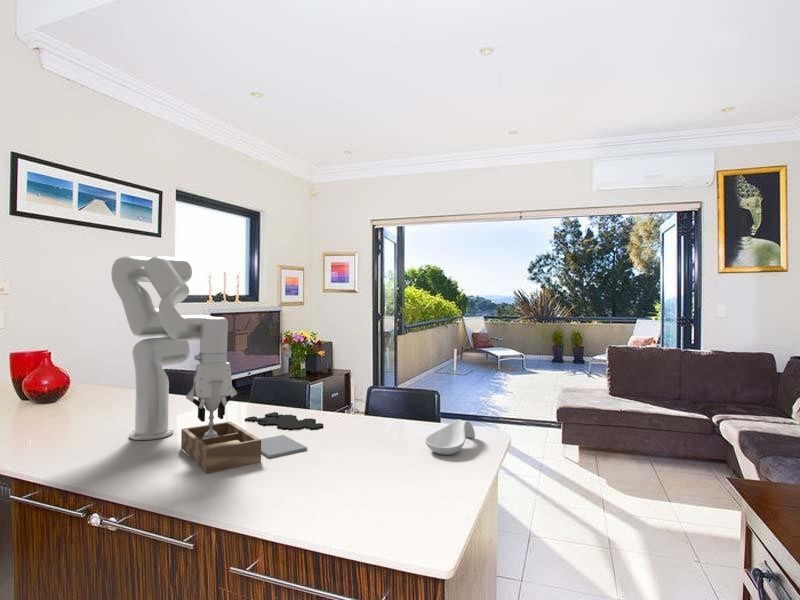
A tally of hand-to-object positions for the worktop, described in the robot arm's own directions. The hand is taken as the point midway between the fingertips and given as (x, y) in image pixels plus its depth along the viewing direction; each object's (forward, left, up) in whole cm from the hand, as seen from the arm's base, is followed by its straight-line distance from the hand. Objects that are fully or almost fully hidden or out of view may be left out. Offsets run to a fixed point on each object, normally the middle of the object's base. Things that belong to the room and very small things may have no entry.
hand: (211, 418), depth 136 cm
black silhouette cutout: (-14, +31, -10) cm, 35 cm away
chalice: (0, 0, -7) cm, 7 cm away
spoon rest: (+42, +60, -9) cm, 74 cm away
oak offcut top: (+12, 0, -7) cm, 14 cm away
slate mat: (+10, +16, -9) cm, 21 cm away
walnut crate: (+7, 0, -9) cm, 11 cm away
